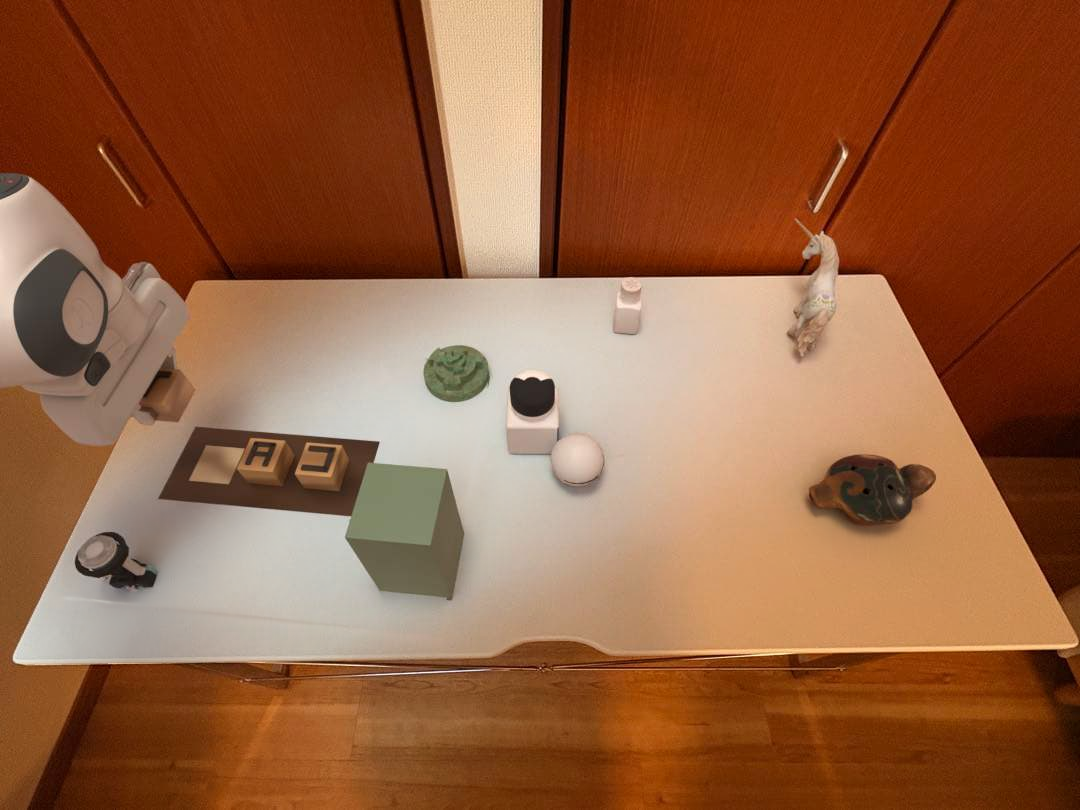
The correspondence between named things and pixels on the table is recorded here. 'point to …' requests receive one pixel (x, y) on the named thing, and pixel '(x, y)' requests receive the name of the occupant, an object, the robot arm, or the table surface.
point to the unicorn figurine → (817, 291)
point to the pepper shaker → (628, 306)
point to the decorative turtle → (871, 488)
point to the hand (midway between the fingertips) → (163, 399)
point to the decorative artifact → (456, 373)
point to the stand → (407, 529)
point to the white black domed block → (532, 413)
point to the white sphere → (577, 459)
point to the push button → (113, 562)
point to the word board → (216, 480)
